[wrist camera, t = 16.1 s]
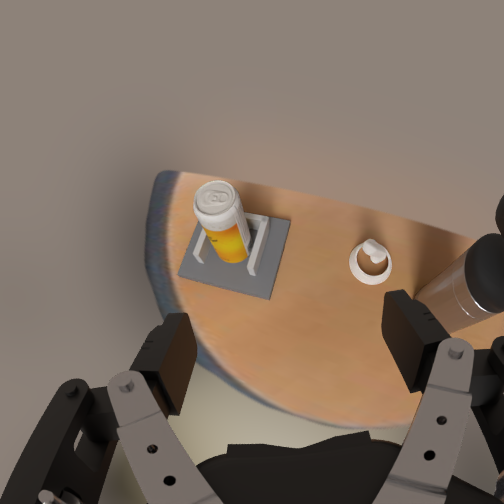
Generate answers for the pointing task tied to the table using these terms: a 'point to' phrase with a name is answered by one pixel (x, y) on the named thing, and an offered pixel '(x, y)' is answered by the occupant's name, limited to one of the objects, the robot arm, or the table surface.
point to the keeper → (247, 271)
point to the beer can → (223, 220)
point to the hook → (376, 256)
